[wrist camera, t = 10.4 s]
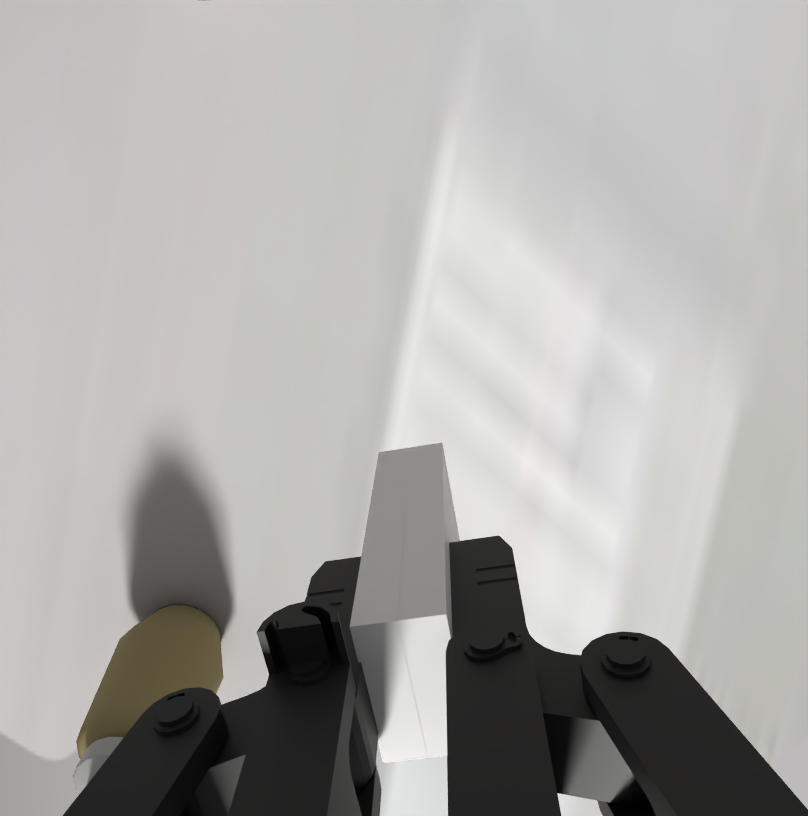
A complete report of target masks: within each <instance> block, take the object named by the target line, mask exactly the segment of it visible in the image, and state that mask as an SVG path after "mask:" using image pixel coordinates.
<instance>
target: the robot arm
mask: <svg viewBox="0 0 808 816" xmlns="http://www.w3.org/2000/svg"><path fill="white" fill-rule="evenodd" d="M257 635H258V638H259V641H260V645H261V648H262V652H263V655H264V658H265V662H266V665H267V668H268V672H269V677H268V681H267V684H266V686H265V687H264V688H262V689H261V690H259V691H257V692H254V693H252V694H250V695H247V696H245V697H242V698H239V699H236V700H234V701H231V702H228V703H225V704H222V705H221V702H220V699H219V697H218V696H217V695H216V694H215V693H214V692H213V691H212V690H209V689H205V688H201V687H195V688H185V689H181V690H179V691H176V692H173V693H170V694H168V695H166V696H164V697H163V698H161V699H159V700H158V701H156V702H154V703H153V704H152V705H151V706H150V707H149V708H148V709H147V710H146V711H145V712H144V713H143V714H142V715H141V716H140V717H139V719H138V720H137V721H136V722H135V724H134V725H133V726H132V728H131V729H130V730H129V731H128V733H127V734H126V735H125V736H124V738H123V739H122V740H121V742H120V743H119V744H118V745H117V747H116V748H115V749H114V751H113V752H112V753H111V754H110V756H109V757H108V758H107V760H106V761H105V762H104V763H103V765H102V766H101V767H100V769H99V770H98V771H97V772H96V774H95V775H94V776H93V778H92V779H91V780H90V781H89V783H88V784H87V785H86V787H85V788H84V789H83V790H82V792H81V793H80V794H79V796H78V797H77V798H76V799H75V801H74V802H73V803H72V805H71V806H70V807H69V808H68V810H67V811H66V812H65V814H64V815H63V816H379V814H380V801H381V785H380V779H379V774H378V770H377V766H376V753H377V742H378V744H379V748H380V752H381V756H382V760H383V763H387V762H396V761H405V760H414V759H423V758H432V757H441V756H447V767H448V816H561V812H560V807H559V801H558V795H557V793H561V794H566V795H571V796H577V797H582V798H588V799H593V800H597V801H598V804H599V808H600V811H601V813H602V815H603V816H808V809H807V808H806V807H805V806H804V805H803V804H802V802H801V801H800V800H799V799H798V798H797V797H796V795H794V793H793V792H792V791H791V790H790V788H788V786H787V785H786V784H785V783H784V782H783V780H782V779H781V778H780V777H779V776H778V775H777V773H776V772H775V771H774V770H773V769H772V768H771V766H770V765H769V764H768V763H767V762H766V761H765V760H764V758H763V757H762V756H761V755H760V754H759V753H758V751H757V750H756V749H755V748H754V747H753V746H752V744H751V743H750V742H749V741H748V740H747V739H746V737H745V736H744V735H743V734H742V733H741V732H740V731H739V729H738V728H737V727H736V726H735V725H734V724H733V722H732V721H731V720H730V719H729V718H728V717H727V715H726V714H725V713H724V712H723V711H722V710H721V709H720V707H719V706H718V705H717V704H716V703H715V702H714V700H713V699H712V698H711V697H710V696H709V695H708V693H707V692H706V691H705V690H704V689H703V688H702V687H701V685H700V684H699V683H698V682H697V681H696V680H695V678H694V677H693V676H692V675H691V674H690V673H689V671H688V670H687V669H686V668H685V667H684V666H683V665H682V663H681V662H680V661H679V660H678V659H677V658H676V656H675V655H674V654H673V653H672V652H671V651H670V649H669V648H667V647H666V646H665V645H664V644H662V643H661V642H660V641H658V640H657V639H655V638H652V637H650V636H647V635H644V634H641V633H632V632H617V633H611V634H605V635H603V636H601V637H599V638H597V639H594V640H592V641H591V642H590V643H589V644H588V645H587V646H586V647H585V648H584V649H583V651H582V655H572V654H565V653H560V652H555V651H553V650H550V649H547V648H545V647H543V646H542V645H540V644H539V643H537V642H536V641H535V640H534V639H533V638H532V637H531V636H530V634H529V632H528V629H527V627H526V622H525V616H524V611H523V605H522V600H521V594H520V589H519V583H518V578H517V572H516V567H515V561H514V556H513V550H512V547H510V546H509V545H508V544H507V543H506V542H505V541H504V540H503V539H502V538H501V537H500V536H493V537H486V538H479V539H472V540H464V541H460V540H459V534H458V529H457V523H456V518H455V512H454V506H453V501H452V495H451V489H450V484H449V478H448V473H447V467H446V461H445V456H444V450H443V445H442V443H438V444H431V445H425V446H418V447H412V448H405V449H398V450H392V451H385V452H379V455H378V461H377V467H376V473H375V479H374V485H373V490H372V496H371V502H370V508H369V514H368V520H367V526H366V532H365V538H364V544H363V550H362V556H361V557H355V558H348V559H341V560H333V561H326V562H325V563H324V564H323V565H322V566H321V567H320V568H319V569H318V570H317V572H316V573H315V574H314V575H313V576H312V577H311V581H310V584H309V588H308V592H307V597H306V599H305V602H301V603H297V604H293V605H289V606H287V607H285V608H283V609H281V610H279V611H277V612H274V613H273V614H272V615H271V616H270V617H268V618H267V619H266V620H265V621H264V622H263V623H262V624H261V626H260V628H259V629H258V631H257Z"/></svg>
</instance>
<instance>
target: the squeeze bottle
mask: <svg viewBox="0 0 808 816" xmlns="http://www.w3.org/2000/svg"><path fill="white" fill-rule="evenodd" d="M222 679H223V668H222V655H221V641H220V632H219V630H218V628H217V626H216V624H215V623H214V621H213V620H212V619H211V618H210V617H209V616H207V615H206V614H205V613H204V612H203V611H201V610H198V609H196V608H193V607H190V606H188V605H171V606H168V607H165V608H161V609H159V610H157V611H156V612H155V613H153V614H152V615H150V616H149V617H147V618H146V619H144V620H143V621H141V622H140V623H138V624H137V625H135V626H134V627H133V628H132V629H131V630H129V631H128V632H127V633H126V634H125V635H124V636H123V637H122V638H121V639H120V640H119V642H118V645H117V647H116V649H115V652H114V654H113V656H112V659H111V661H110V663H109V665H108V668H107V670H106V672H105V675H104V677H103V679H102V682H101V684H100V686H99V688H98V691H97V693H96V695H95V698H94V700H93V702H92V704H91V707H90V709H89V711H88V714H87V716H86V718H85V721H84V723H83V725H82V727H81V730H80V733H79V736H78V738H77V741H76V742H77V748H78V754H79V758H80V759H81V760H80V761H79V763H78V765H77V767H76V770H75V773H74V775H73V780H74V786H75V789H76V791H77V792H78V794H80V793H81V792H82V790H83V789H84V788H85V787H86V785H87V784H88V783H89V781H90V780H91V779H92V778H93V776H94V775H95V774H96V772H97V771H98V770H99V769H100V767H101V766H102V765H103V763H104V762H105V761H106V760H107V758H108V757H109V756H110V754H111V753H112V752H113V751H114V749H115V748H116V747H117V745H118V744H119V743H120V742H121V740H122V739H123V738H124V736H125V735H126V734H127V733H128V731H129V730H130V729H131V728H132V726H133V725H134V724H135V722H136V721H137V720H138V719H139V717H140V716H141V715H142V714H143V713H144V712H145V711H146V710H147V709H148V708H149V707H150V706H151V705H152V704H153V703H154V702H156V701H158V700H159V699H161V698H163V697H164V696H166V695H168V694H170V693H173V692H176V691H179V690H181V689H185V688H195V687H201V688H205V689H209V690H212V691H213V692H214V693H215V694H216V693H217V690H218V688H219V686H220V684H221V681H222Z"/></svg>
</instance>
